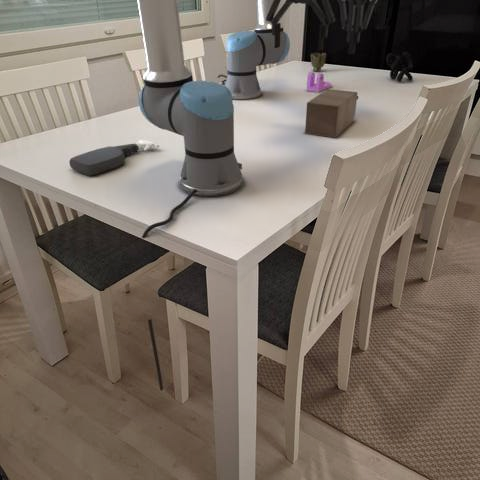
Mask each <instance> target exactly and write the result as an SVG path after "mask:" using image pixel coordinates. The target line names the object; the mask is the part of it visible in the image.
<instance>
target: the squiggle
mask: <svg viewBox="0 0 480 480" xmlns="http://www.w3.org/2000/svg"><path fill="white" fill-rule="evenodd" d="M401 57H402V59H401ZM391 59H392V60H391ZM393 60H394V61H393ZM385 61H386V64H387V67H390V68H391V70H390V72H389V78H390V79H391V80H395V79H396V81H397V82H399V83H400V82H402V81H403V79H404V76H406V78H407V80H408V81H412V80H413V79H414V77H413V75H412V74H411V73H410V72H409V71H410V70H412V69H413V68H414V64H413V61H412V57H411V54H410V53H409V52H408V51H403V53H402V54H401V55H396V54H394V53H392V52H390V53H387V55H386V57H385ZM406 62H407V65H408V66H407V67H405V66H404V65H405V64H406ZM400 70H401V71H400Z"/></svg>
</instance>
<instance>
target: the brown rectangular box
mask: <svg viewBox="0 0 480 480" xmlns="http://www.w3.org/2000/svg"><path fill="white" fill-rule="evenodd" d="M357 93H358V92H357V91H351V90H341V89H332V88H327V89H325V90H323V91H321V92H320V93H319V94H318V95H317V96H315V97H313V98H312V99H310V100H309V101H306V113H305V129H304V134H307V135H313V136H320V137H327V138H332V139H336V138H338V136H339V135H341V134H342V133H343V132H344V131H345V130H346V129H348V127H349V126H350V125H352V124H353V122H355V121H354V120H355V116H354V113H355V114H356V110H355V105H356V106H357V102H356V96H358V94H357Z"/></svg>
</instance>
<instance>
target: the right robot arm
mask: <svg viewBox="0 0 480 480" xmlns="http://www.w3.org/2000/svg"><path fill="white" fill-rule="evenodd" d="M273 1H274V0H256V12H257V13H256V14H257V24H256V26H255V27H254V30H244V31H243V30H242V31H237V32H233V33H231V34H230V35H228V36H227V38H226V47H225V50H226V70H227V71H226V72H227V75H225V74H218V76H217V79H220V77H221V78H225V79H224V80H222V81H221V84H222V85H224V86H225V87H227V88H228V89H229V90H230V92H231V94H232V100H252V99H256V98H259V97H260V96H261V94H262V89H261V86H260V83H259V79H258V76H257V75H258V74H257V67H260V66H266V65H275V64H278V63H281V62H283V61H285V59H286V58H287V56H288V55H289V52H290V48H291V42H290V37H289V35H288V33H287V32H286V31H284V26H283V25H282V24H281V28H280V47H278V48H274V47H275V35H272V23H271V22H269V21H266V17H267V15H268V12H269V10H270V8H271V5H272V3H273ZM336 1H337V2H338V4H339V13H340V21H341V22H340V23H341V29H342V30H344V31H346V32H347V34H346V43H348V53H347V54H348V55H354V54H356V48H357V44H358V43H360V37H361V32H362V31H365V30H367V28H368V25H369V23H370V20H371V17H372V14H373V11H374V9H375V5H376V4H377V2H378V1H379V0H369V3H368V6H367V9H366V12H365V14H364V9H365V3H366V2H367V1H368V0H347V2H348V6H349V7H348V9H349V10H348V13H347V6H346V0H336ZM356 8H357V9H356ZM279 10H280V5H279V6H278V8H277V10H276V12H275V15H276V14H277V13H278V11H279ZM275 15H274V17H275ZM355 15H356V20H355ZM363 16H364V18H363ZM278 23H281V22H280V20H279V21H278ZM354 25H355V27H354ZM354 28H355V29H354Z"/></svg>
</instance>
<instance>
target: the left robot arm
mask: <svg viewBox="0 0 480 480" xmlns="http://www.w3.org/2000/svg"><path fill="white" fill-rule="evenodd" d="M281 1H282V0H274V1H273V3H272V5H271V8H270V10H269V12H268V15H267V17H266V21H269V22H271V23H272V35H275V47H274V48H278V47H280V28H281V25H282V23H281V22H280V20H281V19H282V18H283V16H284V14H286V12H287V11H288V9H289V8H290V7H291V5H293V4H295V5H296V4H302V5H303V4H304V5H305V4H308V6H310V7H311V9H312V10H313V12H314V14H315V15H316V17H317V18H318V20H319V21H320V24H321V25H319V33H318V45H317V51H319V52H321V51H322V50H324V44H325V43H324V42H325V39H326V38H328V35H329V26H330V25H331V24H333V23H335V22H336V17H335V14H334V11H333V9H332V5H331V2H330V0H321V3H322V6H323V9H324V11H325V13H324V11H323V10H322V9H321V7H320V5H319V4H318V2H317V0H285V2H284V3H283V4H282V6H281V7H280V3H281ZM137 5H138V12H139V18H140V24H141V31H142V36H143V44H144V49H145V56H146V62H147V70H146V72H145V73H144V74H143V85H142V86H141V91H139V94H138V104H139V109H140V112H141V114H142V115H143V117H144V118H145V119H146V121H148V122H149V123H151V124H152V125H153V126H155V127H157V128H158V129H160V130H164V131H168V132H171V133H174V134H176V135H179V136H181V137H183V143H184V154H185V155H184V158H183V164H182V168H181V171H180V176H179V183H180V184H179V185H180V188H181V189H182V191H184V192H186V193H187V194H188V195H187V196H186V197H185V199H184V200H183V201H181V203H179V204H177V205H176V206H175V207H173V208H172V209H171V210H170V213H169V217H168V218H167V219H165V220H163V221H159V222H156V223H153V224H151V225H149V226H148V227H147V228H146V229H145V230H144V232H143V234H142V236H141V239H145V238H147V236H148V234H149V233H150V231H152V230H153V229H155V228H159V227H162V226H165V225H168V224H170V222H172V221H173V218H174V216H175V215H174V214H175V213H176V212H177V211H178V210H180V209H181V208H183V207H184V206H185V205H186V204H187V203H188V202H189V200H190V199H192V197H193V196H199V197H221V196H224V195H229V194H232V193H234V192H235V191H237V190H239V189H240V188H241V187H242V185H243V174H242V171H241V170H243V163H242V162H241V163H240V162H238V160H237V157H236V154H235V125H234V124H235V121H234V119H235V115H234V114H235V113H234V112H235V110H234V109H235V106H234V102H233V99H232V94H231V92H230V90H229V89H228V88H227V87H225V85H224V84H222V83H219V82H216V81H207V80H193V71H191V69H189V68H188V67H187V65H185V56H184V48H183V47H184V46H183V39H182V29H181V20H180V15H179V14H180V13H179V4H178V0H137ZM278 6H279V7H280V8H279V11H278V13H277V14H276V15H275V12H276V10H277V8H278ZM274 15H275V17H274ZM278 21H279V22H280V23H278ZM147 323H148V329H149V335H150V339H151V344H152V346H151V347H152V351H153V355H154V360H155V367H156V372H157V377H158V378H157V380H158V385H159V390H160V391H163V390H164V385H163V379H162V372H161V365H160V360H159V355H158V350H157V343H156V339H155V332H154V326H153V321H152V318H150V319H148V320H147Z"/></svg>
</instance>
